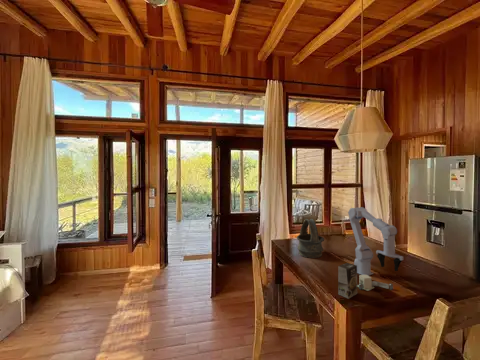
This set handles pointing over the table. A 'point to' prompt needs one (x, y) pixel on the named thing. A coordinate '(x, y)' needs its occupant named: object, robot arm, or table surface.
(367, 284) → the u block
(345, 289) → the coffee box
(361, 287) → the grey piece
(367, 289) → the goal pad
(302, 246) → the basket with handle
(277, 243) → the table surface
